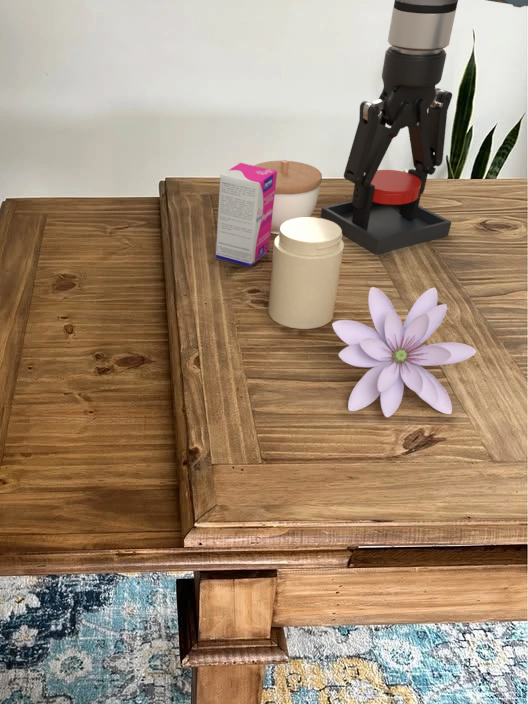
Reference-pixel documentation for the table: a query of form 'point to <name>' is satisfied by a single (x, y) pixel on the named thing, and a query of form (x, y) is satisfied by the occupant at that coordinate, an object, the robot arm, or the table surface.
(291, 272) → the jam jar
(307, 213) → the trinket box
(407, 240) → the tray
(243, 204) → the supplement box
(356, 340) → the water lily
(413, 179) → the jam lid
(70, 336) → the table surface
